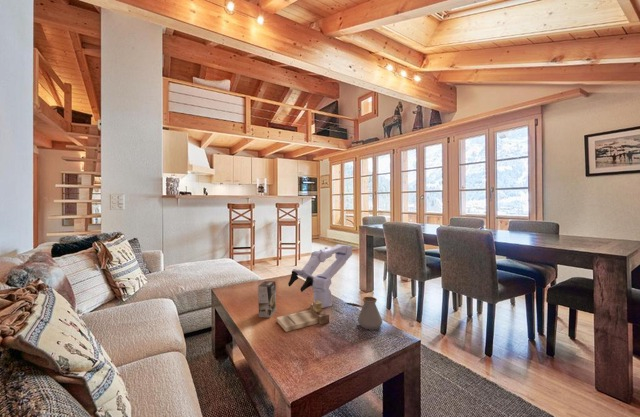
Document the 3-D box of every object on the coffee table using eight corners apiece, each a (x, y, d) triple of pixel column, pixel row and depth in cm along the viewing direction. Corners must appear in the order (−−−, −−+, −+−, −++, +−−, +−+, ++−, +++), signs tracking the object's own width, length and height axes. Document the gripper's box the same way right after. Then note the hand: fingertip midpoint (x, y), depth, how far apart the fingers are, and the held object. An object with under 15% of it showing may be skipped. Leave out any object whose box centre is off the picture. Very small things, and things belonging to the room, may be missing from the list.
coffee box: (270, 318, 136) (269, 286, 136) (258, 317, 137) (257, 285, 137) (276, 310, 145) (276, 281, 144) (265, 309, 146) (264, 280, 146)
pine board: (316, 311, 143) (316, 307, 143) (327, 320, 132) (327, 316, 132) (276, 321, 132) (276, 317, 132) (286, 331, 122) (286, 327, 122)
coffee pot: (368, 318, 134) (368, 288, 134) (387, 326, 125) (387, 295, 125) (336, 332, 121) (336, 299, 120) (355, 342, 112) (355, 307, 111)
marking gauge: (316, 312, 142) (316, 297, 142) (329, 322, 130) (329, 306, 130) (307, 314, 139) (307, 299, 139) (320, 324, 128) (320, 308, 127)
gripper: (297, 259, 145) (281, 277, 136) (320, 267, 137) (305, 288, 129) (299, 267, 149) (285, 286, 140) (322, 276, 142) (307, 296, 133)
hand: (295, 287), depth 135 cm, fingers open, 7 cm apart
